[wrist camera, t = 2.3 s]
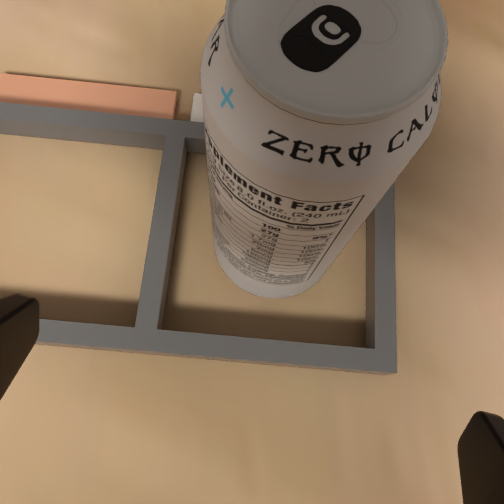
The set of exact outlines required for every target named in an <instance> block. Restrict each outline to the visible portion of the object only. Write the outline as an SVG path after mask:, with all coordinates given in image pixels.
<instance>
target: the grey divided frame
mask: <svg viewBox="0 0 504 504" xmlns="http://www.w3.org/2000/svg"><path fill="white" fill-rule="evenodd" d="M176 102H177V92H176V91H171V90H161V89H151V88H141V87H131V86H121V85H112V84H102V83H92V82H82V81H72V80H62V79H52V78H43V77H33V76H23V75H13V74H3V73H0V134H9V135H19V136H29V137H40V138H50V139H60V140H70V141H80V142H90V143H100V144H111V145H121V146H131V147H141V148H151V149H161V150H163V154H162V160H161V167H160V173H159V179H158V185H157V192H156V198H155V204H154V210H153V217H152V223H151V229H150V235H149V241H148V248H147V254H146V260H145V266H144V273H143V279H142V285H141V291H140V298H139V304H138V310H137V316H136V322H135V327H126V326H114V325H103V324H92V323H81V322H70V321H59V320H47V319H39V335H38V338H37V341H36V343H35V344H41V345H52V346H63V347H75V348H86V349H97V350H109V351H120V352H131V353H143V354H154V355H165V356H177V357H188V358H199V359H211V360H222V361H233V362H245V363H256V364H267V365H279V366H290V367H301V368H313V369H324V370H335V371H347V372H358V373H369V374H381V375H389V374H395V373H397V349H396V281H395V214H394V183H393V184H392V185H391V187H390V188H389V189H388V190H387V192H386V193H385V194H384V196H383V197H382V198H381V200H380V201H379V202H378V204H377V205H376V206H375V208H374V209H373V210H372V212H371V213H370V214H369V215H368V217H367V218H366V348H360V347H349V346H338V345H327V344H315V343H304V342H293V341H282V340H271V339H260V338H248V337H237V336H226V335H215V334H204V333H193V332H181V331H170V330H162V325H163V318H164V311H165V304H166V297H167V290H168V283H169V276H170V269H171V262H172V255H173V248H174V241H175V234H176V227H177V220H178V213H179V206H180V199H181V192H182V184H183V177H184V170H185V163H186V156H187V152H192V153H202V154H206V142H205V130H204V118H203V106H202V94H200V93H194V97H193V104H192V111H191V118H190V121H184V120H174V115H175V108H176Z"/></svg>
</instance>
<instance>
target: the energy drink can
mask: <svg viewBox="0 0 504 504" xmlns="http://www.w3.org/2000/svg"><path fill="white" fill-rule="evenodd" d="M447 46H448V33H447V22H446V19H445V16H444V13H443V10H442V7H441V5H440V3H439V1H438V0H227V2H226V8H225V13H224V15H223V16H222V17H221V19H220V20H219V22H218V23H217V25H216V26H215V28H214V29H213V31H212V32H211V34H210V35H209V38H208V41H207V43H206V46H205V48H204V51H203V54H202V61H201V69H200V82H201V94H202V106H203V118H204V130H205V142H206V154H207V166H208V178H209V190H210V202H211V214H212V226H213V238H214V248H215V253H216V257H217V260H218V263H219V264H220V266H221V268H222V270H223V271H224V273H225V274H226V275H227V276H228V278H229V279H230V280H231V281H232V282H233V283H235V284H236V285H237V286H238V287H240V288H241V289H243V290H245V291H247V292H249V293H251V294H253V295H256V296H260V297H263V298H273V299H279V298H288V297H291V296H295V295H298V294H301V293H302V292H304V291H306V290H308V289H309V288H311V287H312V286H313V285H314V284H316V283H317V282H318V281H319V280H320V279H321V277H322V276H323V275H324V273H325V272H326V271H327V269H328V268H329V267H330V265H331V264H332V263H333V261H334V260H335V259H336V258H337V256H338V255H339V254H340V252H341V251H342V250H343V248H344V247H345V246H346V244H347V243H348V242H349V240H350V239H351V238H352V236H353V235H354V234H355V233H356V231H357V230H358V229H359V227H360V226H361V225H362V223H363V222H364V221H365V219H366V218H367V217H368V215H369V214H370V213H371V212H372V210H373V209H374V208H375V206H376V205H377V204H378V202H379V201H380V200H381V198H382V197H383V196H384V194H385V193H386V192H387V190H388V189H389V188H390V187H391V185H392V184H393V183H394V181H395V180H396V179H397V177H398V176H399V175H400V173H401V172H402V171H403V169H404V168H405V167H406V165H407V164H408V163H409V162H410V160H411V159H412V158H413V156H414V155H415V154H416V152H417V151H418V150H419V148H420V147H421V146H422V144H423V143H424V142H425V140H426V139H427V138H428V136H429V135H430V133H431V131H432V129H433V126H434V124H435V122H436V119H437V117H438V113H439V107H440V101H441V80H440V70H441V68H442V65H443V63H444V61H445V58H446V52H447Z"/></svg>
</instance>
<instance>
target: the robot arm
mask: <svg viewBox="0 0 504 504" xmlns="http://www.w3.org/2000/svg"><path fill="white" fill-rule="evenodd" d="M38 335H39V302H38V300H37V299H36V298H35V297H31V296H27V295H23V294H14V295H11V296H8V297H5V298H2V299H0V400H1V398H2V397H3V395H4V394H5V392H6V390H7V389H8V387H9V385H10V384H11V382H12V381H13V379H14V377H15V376H16V374H17V372H18V371H19V369H20V367H21V366H22V364H23V362H24V361H25V359H26V358H27V356H28V354H29V353H30V351H31V349H32V348H33V346H34V344H35V343H36V341H37V338H38ZM458 459H459V468H460V477H461V487H462V496H463V504H504V419H503V418H502V417H500V416H498V415H496V414H492V413H488V412H484V411H478V412H476V413H475V414H474V415H473V416H472V418H471V420H470V421H469V423H468V425H467V427H466V428H465V430H464V432H463V433H462V435H461V437H460V439H459V442H458Z"/></svg>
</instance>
